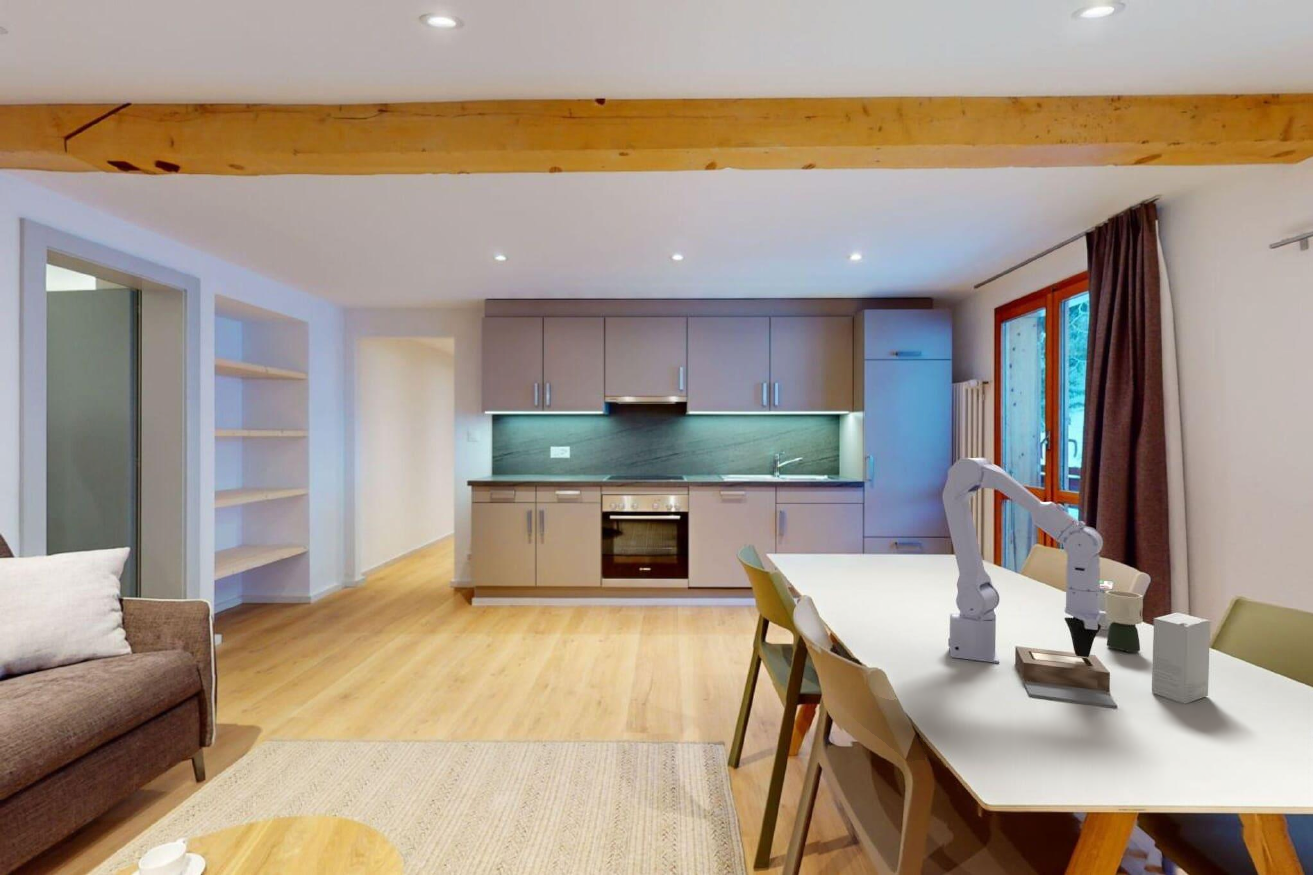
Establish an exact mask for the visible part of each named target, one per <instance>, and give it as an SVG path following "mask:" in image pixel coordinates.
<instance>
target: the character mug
mask: <svg viewBox="0 0 1313 875" xmlns="http://www.w3.org/2000/svg"><path fill="white" fill-rule="evenodd" d="M1143 600H1144V597H1143V595H1142V594H1139V593H1135V592H1132V591H1124V590H1113V591H1106V592H1105V612H1106V613H1107V616H1106V619H1107V620H1110V621H1112V623H1111V624H1110V627H1109V630H1108V633H1107V639H1106V646H1107V647H1109V648H1111V649H1116V650H1117V649H1118V650H1121V651H1123V652H1124V653H1127V651H1128V652H1129V651H1130V652H1134V653H1136V652H1140V651H1141V644H1140V638H1139V631H1138V628H1137V626H1136V625H1139V624H1142V623H1143V621H1144V619H1143V617H1144V616H1143V609H1144V603H1143V602H1144V601H1143Z"/></svg>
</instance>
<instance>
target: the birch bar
mask: <svg viewBox="0 0 1313 875" xmlns="http://www.w3.org/2000/svg"><path fill="white" fill-rule="evenodd" d="M1031 657H1032V659H1033V660H1041V661H1050V662H1059V663H1067V664H1076V665H1084V666H1087V665H1086V663H1085V662H1084V661H1083V659H1082V658H1077V657H1068V656H1059V655H1051V654H1042V653H1033V652H1031Z"/></svg>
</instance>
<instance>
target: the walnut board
mask: <svg viewBox="0 0 1313 875" xmlns="http://www.w3.org/2000/svg"><path fill="white" fill-rule="evenodd" d="M1014 651H1015V654H1014V655H1015V658H1014V659H1015V661H1014V662H1015V666H1016V669H1017V671H1018V673H1019V675H1020V677H1021V679H1022V681H1030V682H1037V683H1045V684H1053V685H1061V686H1069V687H1076V688H1084V689H1092V690H1100V691H1107V693H1110V692H1111V688H1110V687H1111V685H1110V684H1111V683H1110V682H1111V672H1110V671H1109V670H1108V669H1107V667H1106V666H1105V665H1104V664H1103V663H1102V661H1101V660H1100V659H1099V658H1098V657H1097V656H1096V654H1090V655H1089V657H1080V656H1076V654H1075V652H1072V651H1071V652H1070V651H1061V650H1053V649H1045V648H1044V649H1043V648H1035V647H1028V646H1018V645H1017V646H1015V650H1014ZM1031 652H1033V653H1042V654H1051V655H1059V656H1068V657H1077V658H1082V659H1083V661H1084V662H1085V663H1086V665H1087V666H1084V665H1076V664H1067V663H1059V662H1050V661H1041V660H1033V659H1032V657H1031Z"/></svg>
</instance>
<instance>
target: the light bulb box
mask: <svg viewBox="0 0 1313 875" xmlns="http://www.w3.org/2000/svg"><path fill="white" fill-rule="evenodd" d="M1106 591H1114V583H1113V581H1110V580H1108V581H1107V580H1100V611H1105V592H1106ZM1111 623H1112V621H1110V620H1107V619H1106V617H1103V616H1101V617H1100V618H1099V619H1098V624H1100V625H1101V629H1100V630H1104V631H1105V630H1106V631H1109V627H1110V624H1111Z"/></svg>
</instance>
